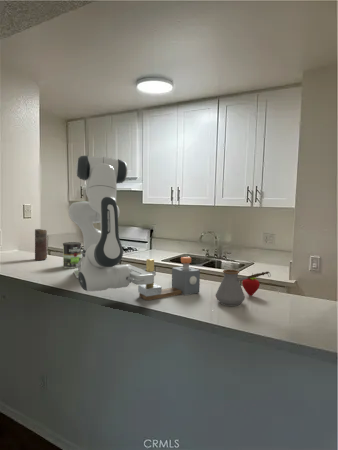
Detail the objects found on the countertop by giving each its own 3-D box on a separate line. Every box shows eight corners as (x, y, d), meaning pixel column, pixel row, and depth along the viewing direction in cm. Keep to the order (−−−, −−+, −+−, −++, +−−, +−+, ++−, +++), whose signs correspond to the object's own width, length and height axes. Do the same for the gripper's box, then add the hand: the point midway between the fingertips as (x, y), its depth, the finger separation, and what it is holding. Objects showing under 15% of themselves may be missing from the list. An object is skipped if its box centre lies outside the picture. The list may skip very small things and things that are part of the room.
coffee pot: (210, 303, 123) (211, 266, 122) (223, 296, 132) (224, 261, 131) (263, 316, 110) (264, 274, 109) (273, 307, 119) (275, 269, 118)
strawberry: (244, 292, 139) (245, 270, 138) (261, 295, 135) (262, 272, 134) (239, 295, 134) (240, 272, 133) (256, 299, 130) (257, 275, 129)
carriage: (138, 292, 130) (138, 259, 129) (152, 289, 134) (153, 257, 133) (146, 296, 124) (147, 261, 123) (161, 293, 128) (162, 260, 127)
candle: (39, 258, 210) (38, 228, 208) (49, 258, 208) (49, 229, 207) (32, 260, 202) (32, 229, 201) (43, 260, 201) (42, 230, 199)
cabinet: (171, 289, 142) (172, 267, 141) (185, 287, 146) (186, 266, 145) (185, 295, 133) (186, 272, 132) (200, 292, 137) (200, 270, 136)
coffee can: (83, 267, 185) (83, 243, 184) (66, 269, 179) (66, 244, 178) (76, 264, 193) (76, 241, 192) (60, 266, 187) (60, 242, 186)
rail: (139, 296, 130) (139, 293, 130) (173, 290, 140) (173, 287, 140) (146, 300, 125) (146, 296, 125) (181, 294, 135) (181, 290, 135)
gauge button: (178, 281, 140) (178, 257, 139) (186, 280, 142) (187, 256, 142) (184, 284, 136) (185, 259, 135) (192, 282, 139) (193, 258, 138)
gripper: (133, 273, 112) (165, 269, 120) (110, 263, 129) (140, 260, 137) (133, 290, 113) (165, 285, 121) (110, 278, 130) (140, 274, 138)
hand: (151, 272), depth 129 cm, fingers closed on carriage, 3 cm apart
